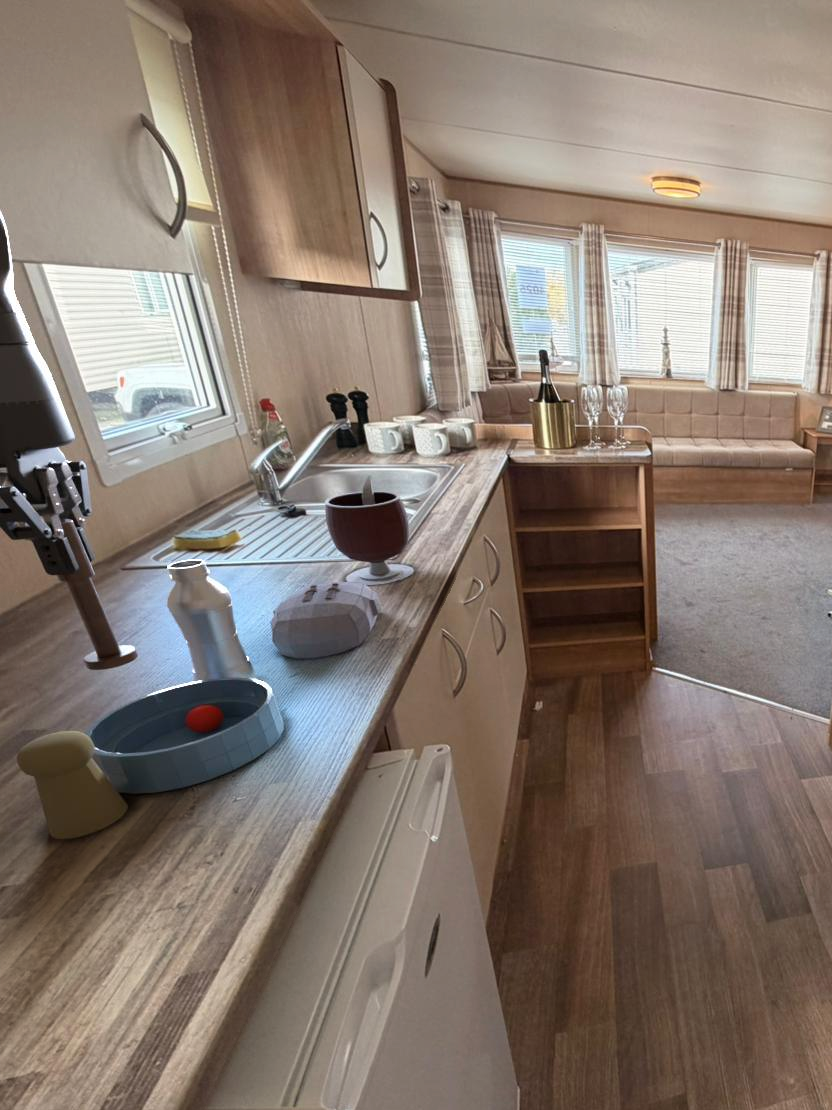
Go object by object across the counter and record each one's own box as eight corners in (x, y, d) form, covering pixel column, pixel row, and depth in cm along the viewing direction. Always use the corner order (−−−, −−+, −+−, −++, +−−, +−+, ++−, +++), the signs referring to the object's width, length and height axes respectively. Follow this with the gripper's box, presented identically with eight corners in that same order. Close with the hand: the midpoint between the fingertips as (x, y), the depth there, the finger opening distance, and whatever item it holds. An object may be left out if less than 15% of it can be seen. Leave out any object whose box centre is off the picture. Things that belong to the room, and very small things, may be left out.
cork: (33, 839, 67) (-15, 753, 62) (99, 800, 72) (59, 719, 68) (83, 847, 66) (38, 761, 62) (146, 807, 71) (108, 726, 67)
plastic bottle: (198, 690, 93) (149, 562, 85) (256, 675, 98) (216, 552, 90) (203, 709, 89) (152, 576, 81) (264, 692, 94) (222, 565, 86)
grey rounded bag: (293, 618, 116) (259, 670, 99) (281, 576, 112) (243, 622, 96) (390, 608, 121) (373, 656, 105) (380, 568, 118) (361, 610, 101)
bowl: (71, 815, 70) (48, 771, 68) (140, 729, 84) (123, 691, 82) (265, 778, 77) (250, 737, 74) (299, 705, 91) (287, 668, 89)
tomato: (186, 741, 81) (176, 717, 80) (196, 725, 84) (187, 702, 83) (222, 735, 83) (213, 711, 81) (230, 720, 86) (222, 697, 84)
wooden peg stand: (78, 672, 68) (13, 529, 62) (97, 655, 71) (37, 518, 65) (128, 666, 69) (69, 526, 63) (144, 650, 73) (90, 515, 66)
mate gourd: (413, 585, 132) (393, 491, 124) (334, 592, 127) (308, 494, 119) (423, 561, 145) (406, 474, 137) (352, 566, 140) (329, 476, 132)
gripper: (-10, 386, 63) (60, 550, 70) (-121, 403, 52) (-24, 597, 59) (91, 387, 66) (149, 544, 73) (8, 404, 55) (86, 588, 62)
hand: (72, 567), depth 66 cm, fingers closed on wooden peg stand, 2 cm apart
